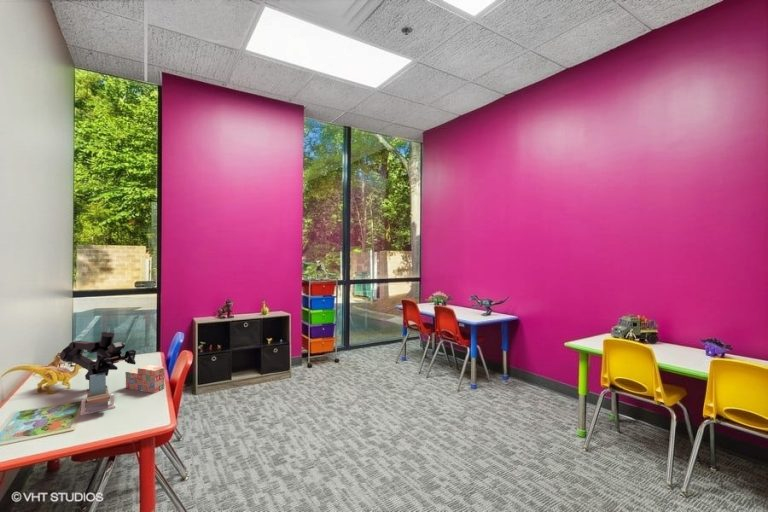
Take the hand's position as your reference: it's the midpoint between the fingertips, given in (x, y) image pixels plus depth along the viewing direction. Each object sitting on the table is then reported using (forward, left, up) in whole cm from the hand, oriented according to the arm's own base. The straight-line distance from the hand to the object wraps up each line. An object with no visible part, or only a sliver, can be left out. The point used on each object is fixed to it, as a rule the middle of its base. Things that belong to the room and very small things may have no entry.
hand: (126, 366), depth 192 cm
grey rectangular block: (-3, -14, -9) cm, 17 cm away
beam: (-3, -14, -14) cm, 20 cm away
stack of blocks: (+3, +10, -16) cm, 19 cm away
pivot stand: (-1, -17, -15) cm, 23 cm away
